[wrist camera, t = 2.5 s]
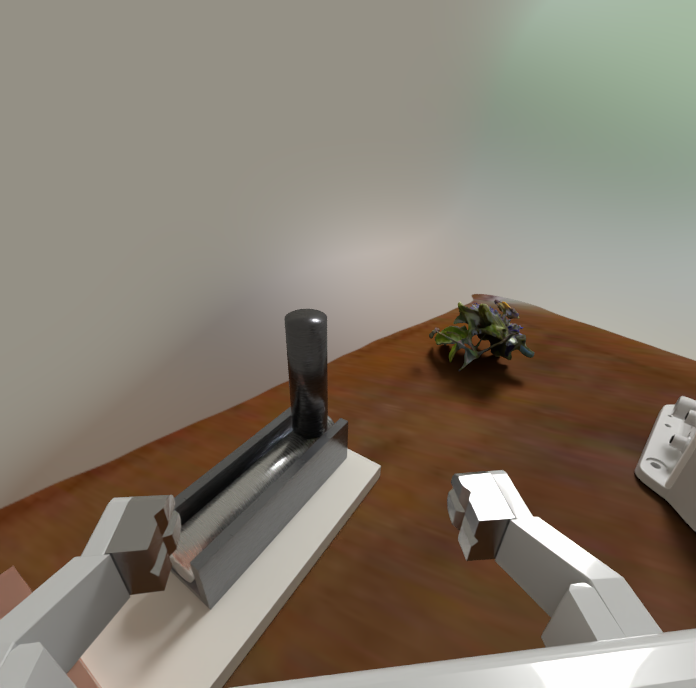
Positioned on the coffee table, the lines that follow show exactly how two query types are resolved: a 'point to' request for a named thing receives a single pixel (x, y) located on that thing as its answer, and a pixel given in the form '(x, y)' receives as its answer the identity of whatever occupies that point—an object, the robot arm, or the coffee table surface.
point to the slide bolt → (308, 426)
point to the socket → (10, 592)
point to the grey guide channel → (256, 503)
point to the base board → (224, 601)
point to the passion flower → (484, 332)
